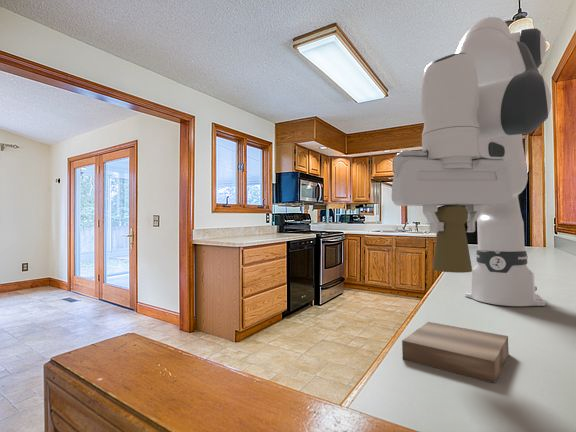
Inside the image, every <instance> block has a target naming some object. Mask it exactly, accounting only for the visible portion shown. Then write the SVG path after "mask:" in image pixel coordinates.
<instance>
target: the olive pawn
mask: <svg viewBox="0 0 576 432" xmlns="http://www.w3.org/2000/svg"><path fill="white" fill-rule="evenodd" d="M434 213H435V215H436V217H437V218H438V220H439V222H444V227H443V228H444V232H443V233H435V234H436V236H435V244H434V253H433V260H432V261H433V262H432V271H436V272H443V273H456V274H458V273H461V274H463V273H471V272H472V269H473V267H472V262H471V254H470V251H469V250H470V249H469V243H468V237H467V232H466V231H465V225H464V224H465V223H466V221H467V219H468V212H467V210H466V208H465V206H464V205H444V206H437V212H434Z"/></svg>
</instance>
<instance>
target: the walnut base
mask: <svg viewBox="0 0 576 432" xmlns="http://www.w3.org/2000/svg"><path fill="white" fill-rule="evenodd" d="M401 345H402V346H401V349H402V360H406V361H410V362H413V363H417V364H421V365H424V366H428V367H432V368H437V369H440V370H444V371H447V372H452V373H454V374H459V375H461V376H462V375H463V376H466V377H469V378H473V379H477V380H481V381H484V380H485V382H488V383H493V384H496V382H497V380H498V378H499V377H500V376H499V375H500V373H501V371H502V369H503V367H504V365H505V362H506V361H507V359H508V357H509V336H508V335H503V334H499V333H494V332H489V331H482V330H478V329H477V330H476V329H472V328H471V329H470V328H466V327H459V326H455V325H454V326H453V325H449V324H442V323H436V322H433V321H431V322H430V321H427V322H426V323H424V324H423V325H421V326H420V327H418V328H417V329H416V330H414V331H413V332H412V333H411V334H409V335H408V336H406V337H405V338H403V339H402V340H401Z"/></svg>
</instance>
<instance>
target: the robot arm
mask: <svg viewBox="0 0 576 432" xmlns="http://www.w3.org/2000/svg"><path fill="white" fill-rule="evenodd" d="M546 52H547V42H546V39H545V37H544V35H543V34H542V31H541V30H539V29H538V28H535V27H534V28H526V29H521V31H518V32H517V31H516V32H512V33H511V31H510V28H509V26H508V23H507V22H505V21H504V19H502V18H499V17H496V16H491V17H490V16H489V17H485V18H483V19H479V20H478V21H476V22H475V23H474V24H473V25H472V26H471V27H470V28H469V29H468V30H467V31H466V32H465V34H464V35H463V37H462V38H461V40H460V41H459V44H458V47H457V48H456V51H455V52H454V53H452V54H448V55H445V56H442V57H440V58H436V59H435V60H433V61H431V62H430V63H429V64H427V65H426V67H425V68H424V71H423V76H422V84H421V95H420V97H421V98H420V99H421V101H420V107H421V108H420V111H421V112H420V113H421V116H422V119H423V129H422V133H421V149H422V150H407V149H406V150H405V149H404V150H401V151H400V152H399V153H397V154H395V155H394V156H393V158H392V162H391V163H392V165H391V166H392V173H393V178H392V182H391V183H392V187H391V201H392V202H393V204H394V205H395V206H396V207H397V206H398V207H402V206H405V207H406V206H407V207H410V206H411V207H413V206H414V207H417V206H420V207H421V206H422V214H423V215H424V216H425V218H426V220H427V223H429V232H430V233H431V234H432V233H433V234H437V233H443V232H444V228H443V227H444V222H439V220H438V218H437V217H436V215H435V213H434V212H437V208H438V207H440V206H444V205H459V206H464V207H465V208H466V210H467V212H468V219H467V221H466V223H465V224H464V225H465V231H466V233H474V232H476V231H477V250H476V254H475V257H476V262H477V264H476V265H475V266H474V267H472V272H470V273H471V274H470V278H471V279H470V291H466V292H465V293H464V296H465V297H467V298H470V299H473V300H474V301H478V302H480V303H481V302H482V303H485V304H486V303H487V304H491V305H497V306H507V307H532V306H534V307H535V306H538V307H540V306H542V307H543V306H546V301H545V300H544V299H543V298H542V297H541V296H540V295H539V293H538V292H537V290H538V288H537V286H536V285H535V273H534V272H533V271H532V270H531V269H529V267H528V265H527V264H528V259H529V258H528V253H527V250H525V248H526V247H525V246H526V245H525V224H524V223H525V222H524V219H523V217H522V211H521V207H520V200H519V195H520V194H522V193H523V191H524V190H525V189H526V186H527V184H528V180H529V179H528V177H529V175H528V170H527V162H526V155H525V150H524V143H523V135H526V134H531V133H533V132H534V131H535V130H537V129H538V128H539V127H541V125H543V124H544V122H545V121H546V120H547V119H548V118H549V114H550V111H551V107H552V96H551V91H550V87H549V85H548V84H547V82H546V81H545V79H544V77H543V75H541V73H540V71H539V68H540V66H541V65H542V64H543V60H544V58H545V55H546ZM476 227H477V228H476ZM476 229H477V230H476Z"/></svg>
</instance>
